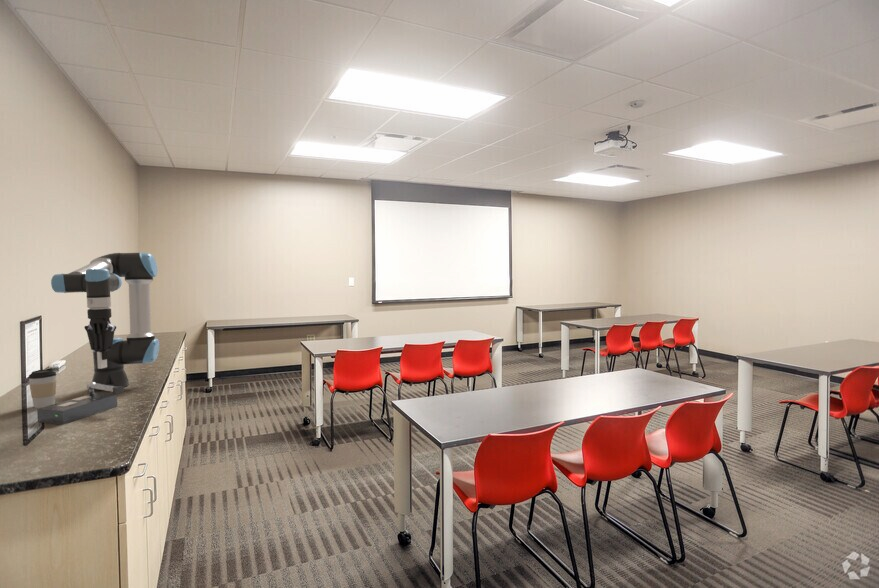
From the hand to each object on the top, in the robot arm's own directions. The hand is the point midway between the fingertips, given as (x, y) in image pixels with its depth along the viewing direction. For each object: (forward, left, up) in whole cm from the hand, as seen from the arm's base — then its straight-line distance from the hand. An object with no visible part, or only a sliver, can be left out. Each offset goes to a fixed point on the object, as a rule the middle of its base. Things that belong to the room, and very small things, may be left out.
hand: (102, 367), depth 182 cm
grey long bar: (-4, -4, -10) cm, 12 cm away
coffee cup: (-3, -35, -18) cm, 39 cm away
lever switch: (+3, -9, -18) cm, 20 cm away
